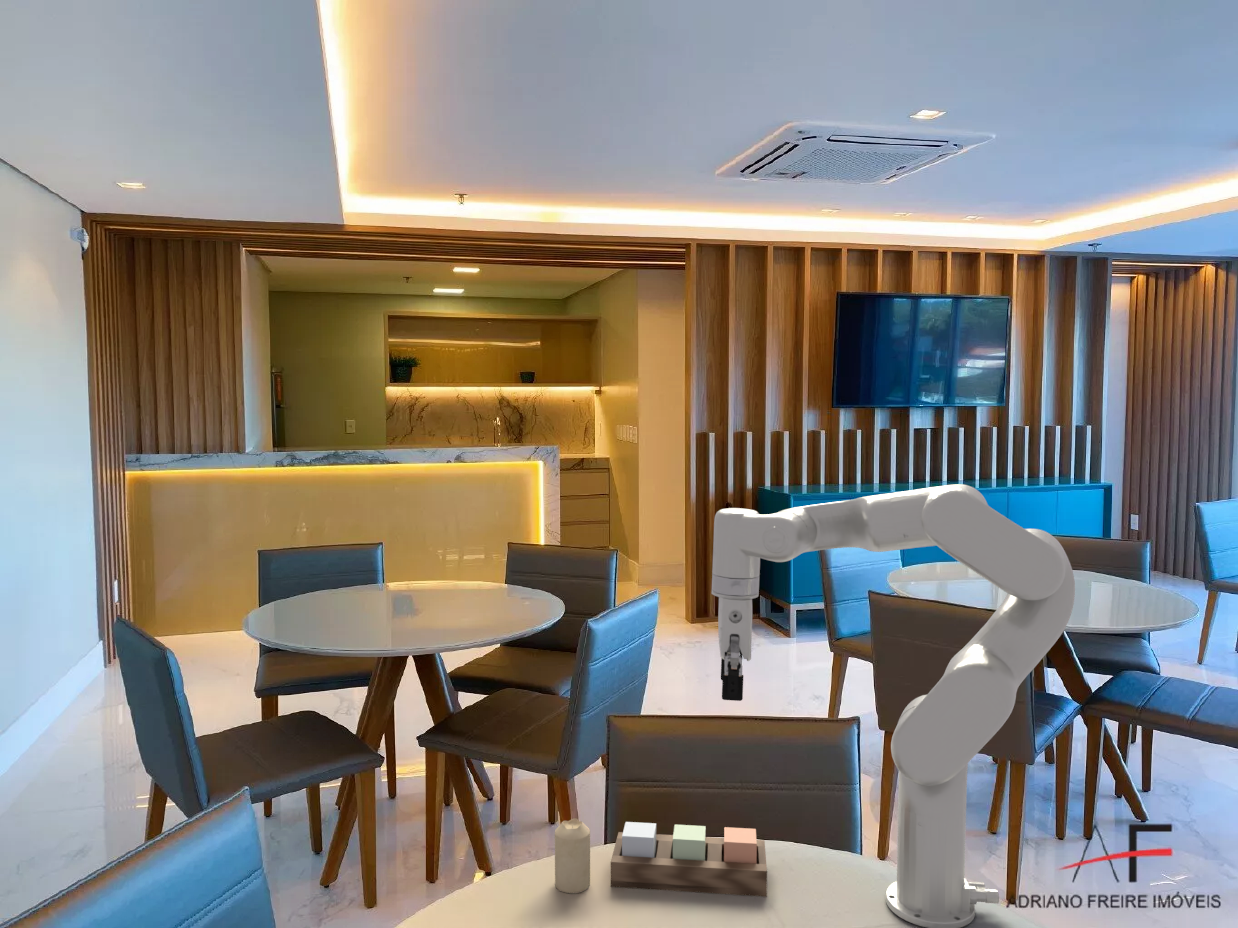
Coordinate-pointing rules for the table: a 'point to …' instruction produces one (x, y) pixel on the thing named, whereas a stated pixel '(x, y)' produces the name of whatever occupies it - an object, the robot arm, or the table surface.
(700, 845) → the sage button
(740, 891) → the button panel
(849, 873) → the table surface
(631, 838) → the greyblue button
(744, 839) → the terracotta button
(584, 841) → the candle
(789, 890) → the table surface
